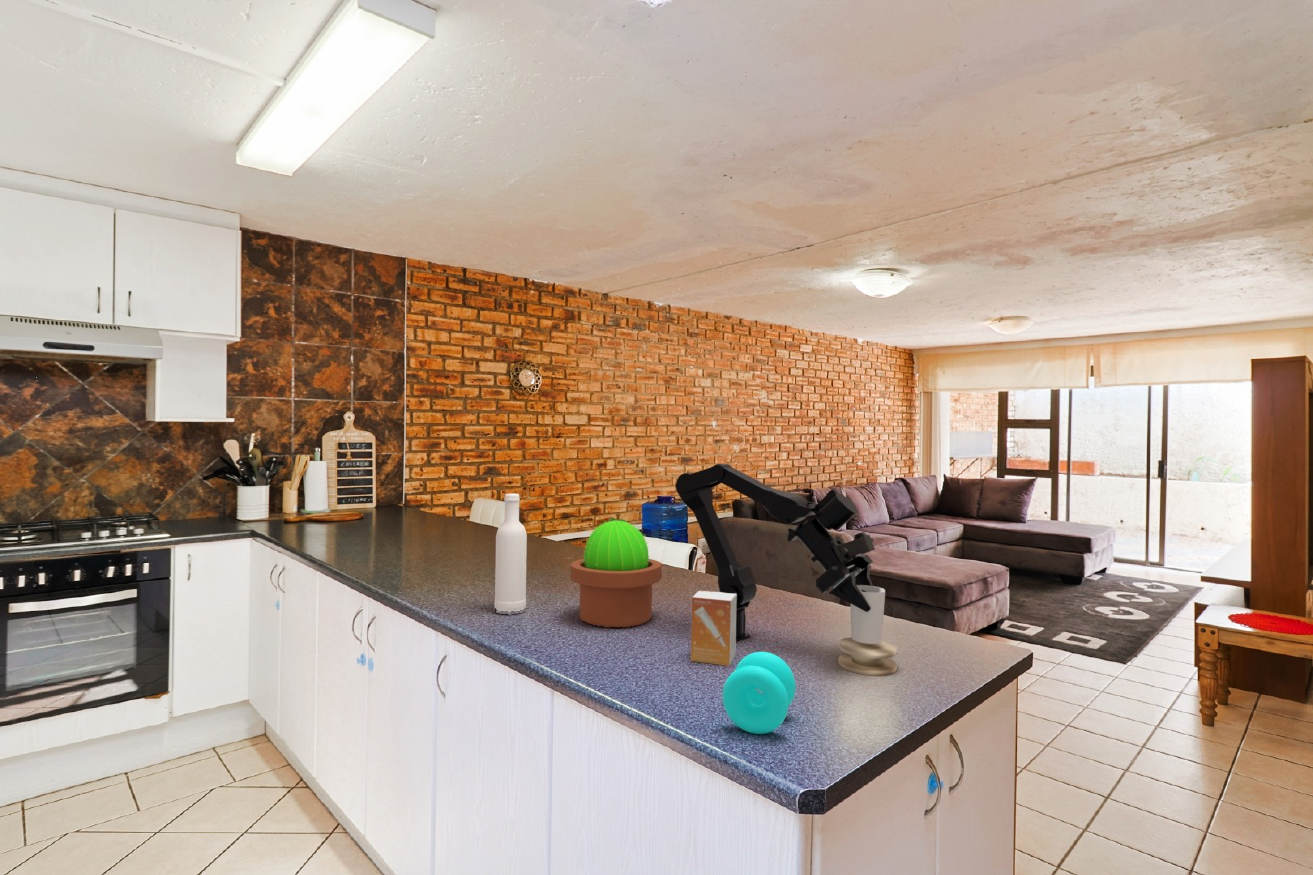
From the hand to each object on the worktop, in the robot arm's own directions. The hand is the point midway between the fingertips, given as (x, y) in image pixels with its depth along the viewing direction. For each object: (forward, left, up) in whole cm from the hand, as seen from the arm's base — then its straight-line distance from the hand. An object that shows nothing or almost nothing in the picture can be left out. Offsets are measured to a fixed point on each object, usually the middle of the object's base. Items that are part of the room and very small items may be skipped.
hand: (874, 607), depth 126 cm
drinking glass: (0, +1, -7) cm, 7 cm away
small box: (-21, +23, -12) cm, 34 cm away
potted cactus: (-18, +59, -12) cm, 63 cm away
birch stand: (0, +1, -12) cm, 12 cm away
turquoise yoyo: (-37, -2, -12) cm, 39 cm away
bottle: (-35, +81, -12) cm, 89 cm away
